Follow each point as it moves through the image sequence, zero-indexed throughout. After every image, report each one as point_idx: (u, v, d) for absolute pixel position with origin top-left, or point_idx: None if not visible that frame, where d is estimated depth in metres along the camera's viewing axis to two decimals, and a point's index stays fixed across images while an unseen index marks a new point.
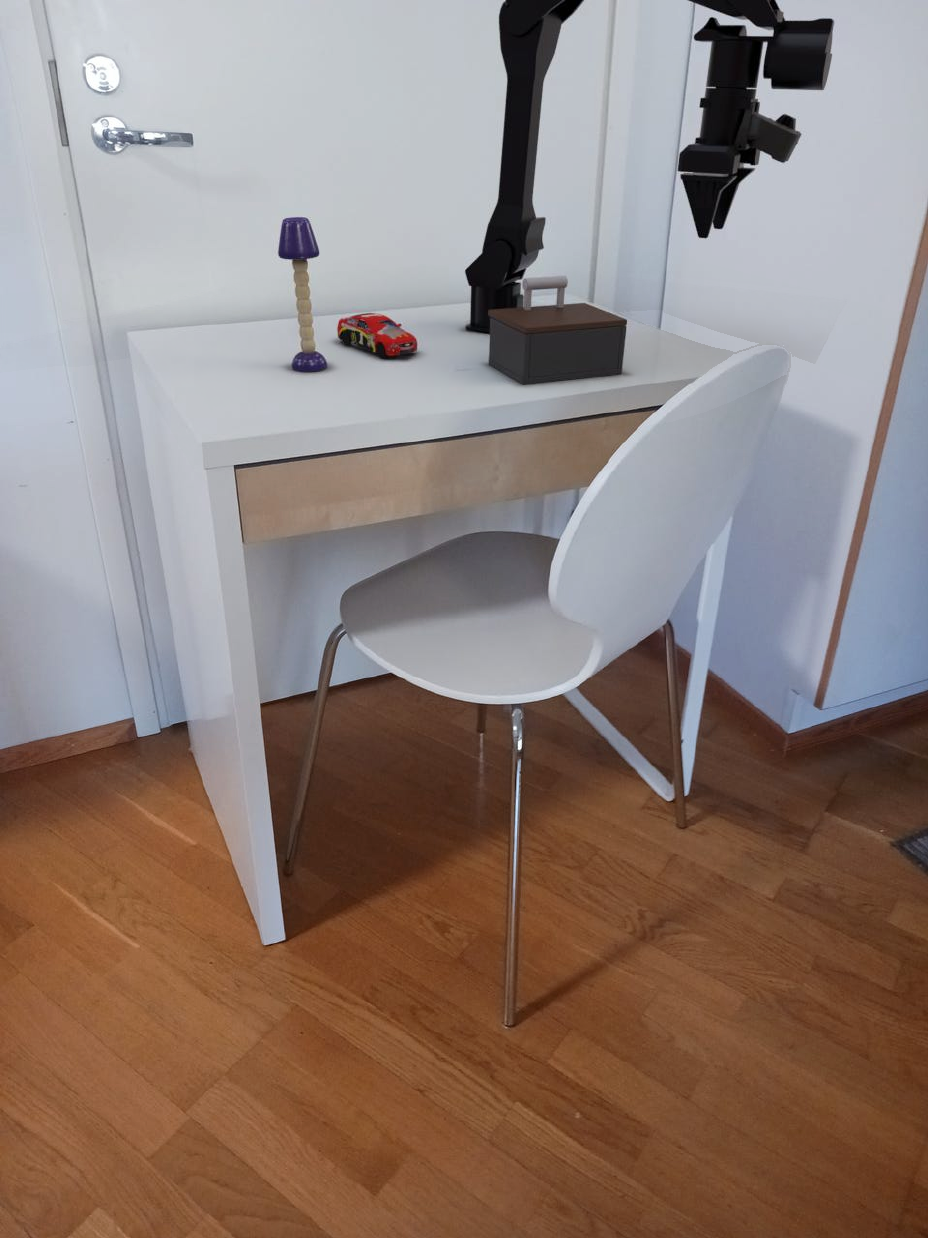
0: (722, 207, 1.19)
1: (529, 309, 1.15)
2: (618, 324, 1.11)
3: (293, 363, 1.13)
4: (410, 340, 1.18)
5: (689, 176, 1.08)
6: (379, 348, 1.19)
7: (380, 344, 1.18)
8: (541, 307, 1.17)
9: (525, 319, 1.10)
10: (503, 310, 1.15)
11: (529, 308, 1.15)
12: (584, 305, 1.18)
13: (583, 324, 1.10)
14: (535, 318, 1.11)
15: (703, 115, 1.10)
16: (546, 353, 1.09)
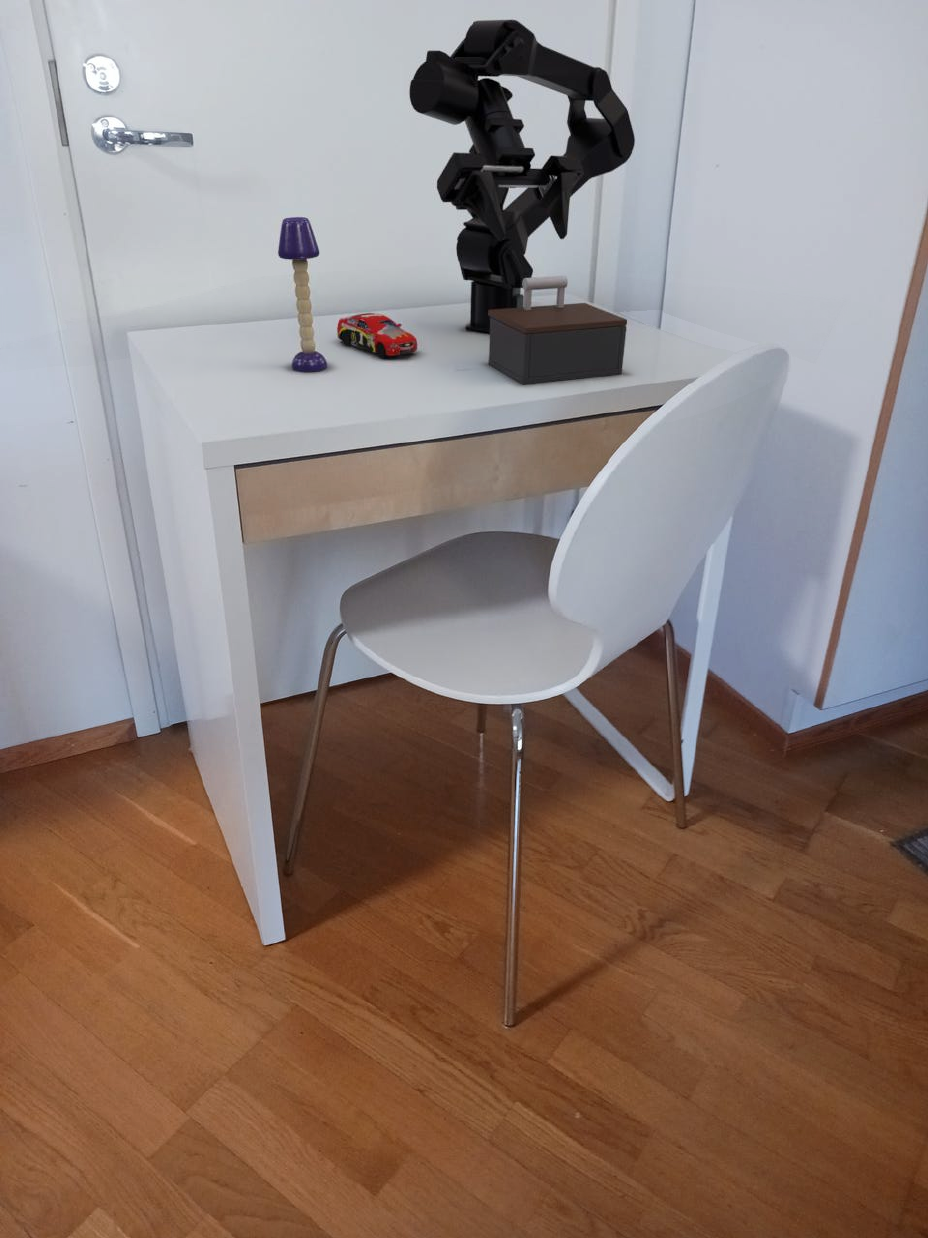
0: None
1: (529, 309, 1.15)
2: (618, 324, 1.11)
3: (293, 363, 1.13)
4: (410, 340, 1.18)
5: None
6: (379, 348, 1.19)
7: (380, 344, 1.18)
8: (541, 307, 1.17)
9: (525, 319, 1.10)
10: (503, 310, 1.15)
11: (529, 308, 1.15)
12: (584, 305, 1.18)
13: (583, 324, 1.10)
14: (535, 318, 1.11)
15: (518, 133, 1.17)
16: (546, 353, 1.09)
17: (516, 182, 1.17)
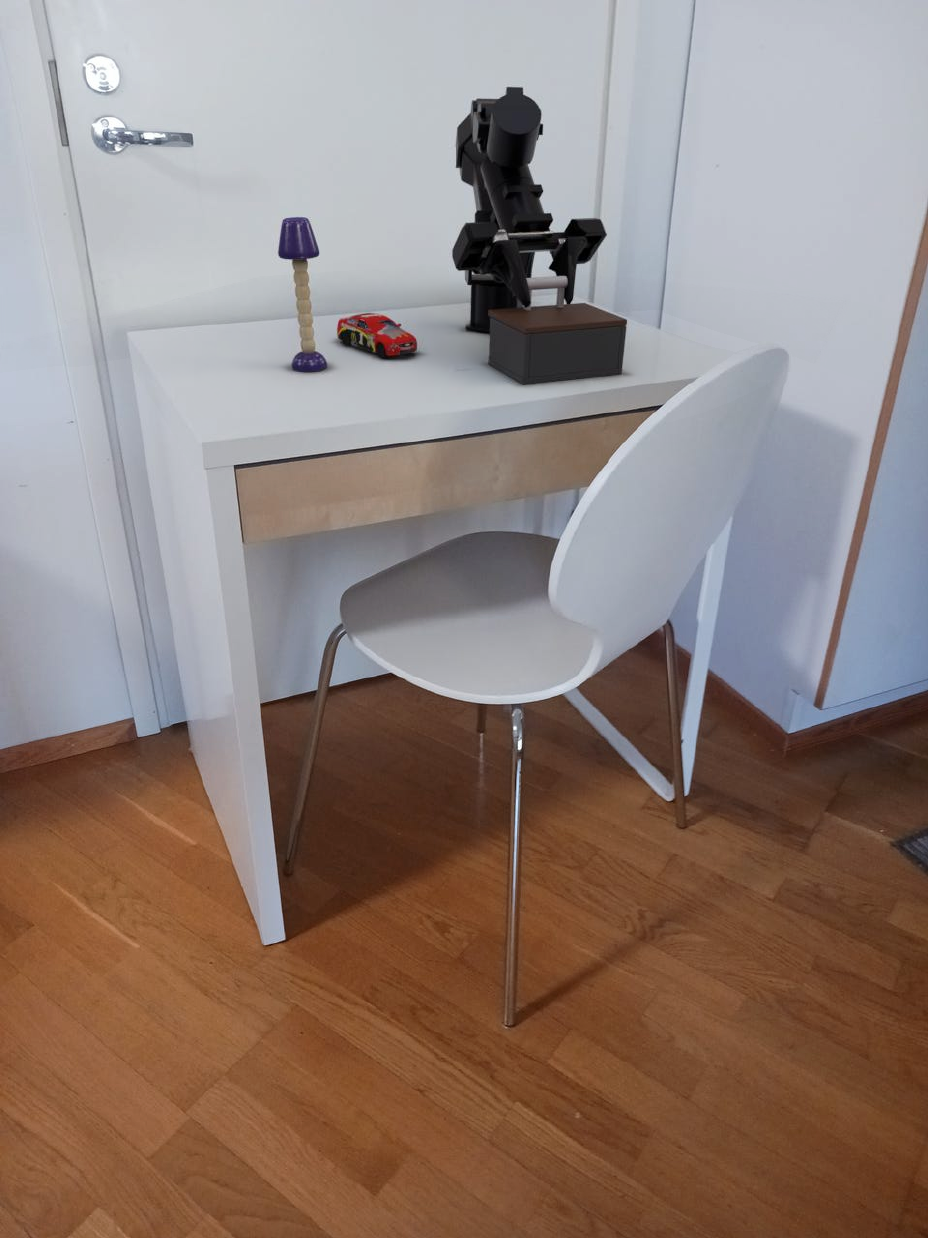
0: None
1: (529, 309, 1.15)
2: (618, 324, 1.11)
3: (293, 363, 1.13)
4: (410, 340, 1.18)
5: None
6: (379, 348, 1.19)
7: (380, 344, 1.18)
8: (541, 307, 1.17)
9: (525, 319, 1.10)
10: (503, 310, 1.15)
11: (529, 308, 1.15)
12: (584, 305, 1.18)
13: (583, 324, 1.10)
14: (535, 318, 1.11)
15: (537, 199, 1.15)
16: (546, 353, 1.09)
17: (522, 248, 1.15)
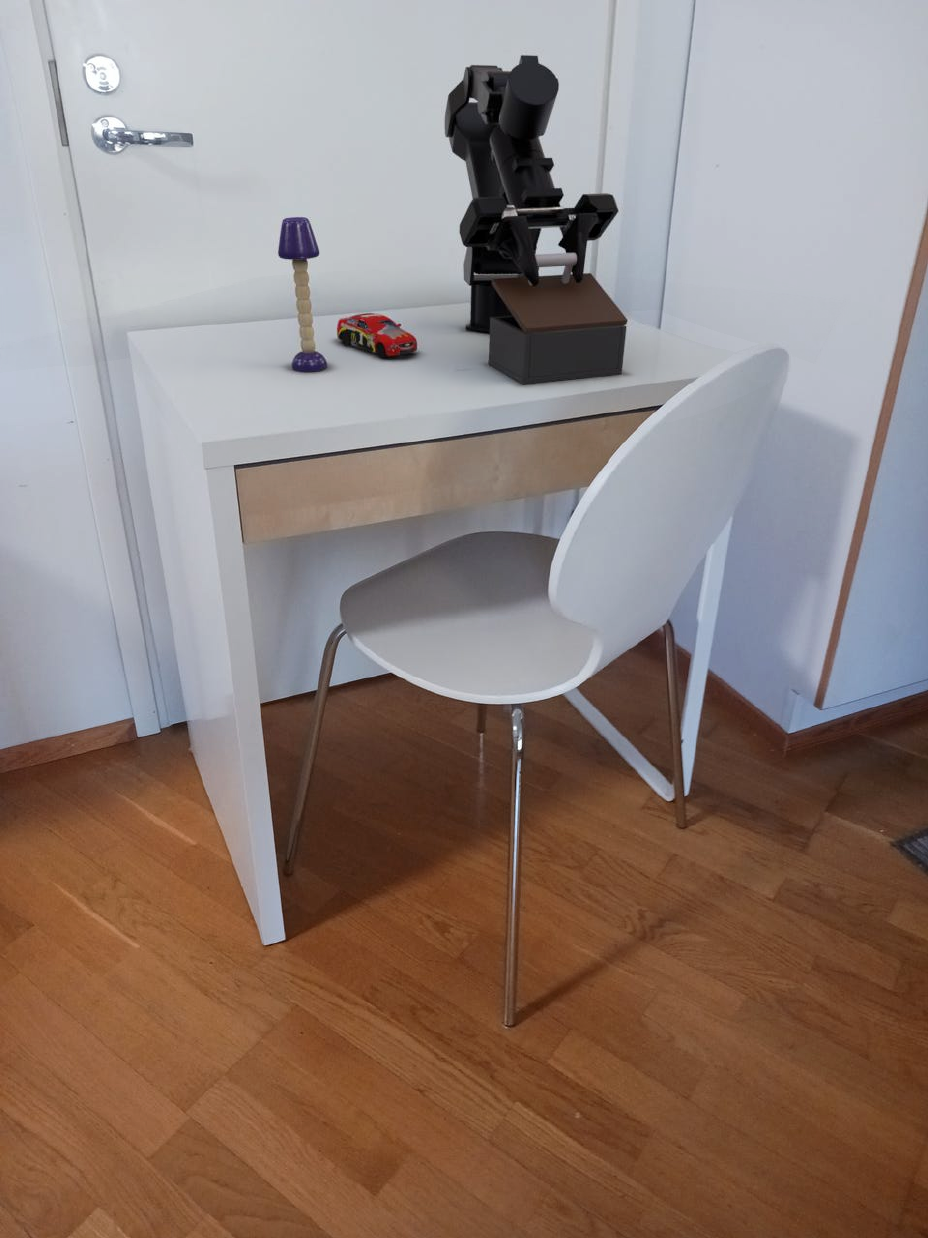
0: None
1: None
2: (618, 324, 1.11)
3: (293, 363, 1.13)
4: (410, 340, 1.18)
5: None
6: (379, 348, 1.19)
7: (380, 344, 1.18)
8: (546, 279, 1.14)
9: (527, 307, 1.09)
10: (507, 282, 1.12)
11: None
12: (589, 279, 1.16)
13: (583, 324, 1.09)
14: (537, 306, 1.10)
15: (547, 173, 1.12)
16: (546, 353, 1.09)
17: (531, 224, 1.12)
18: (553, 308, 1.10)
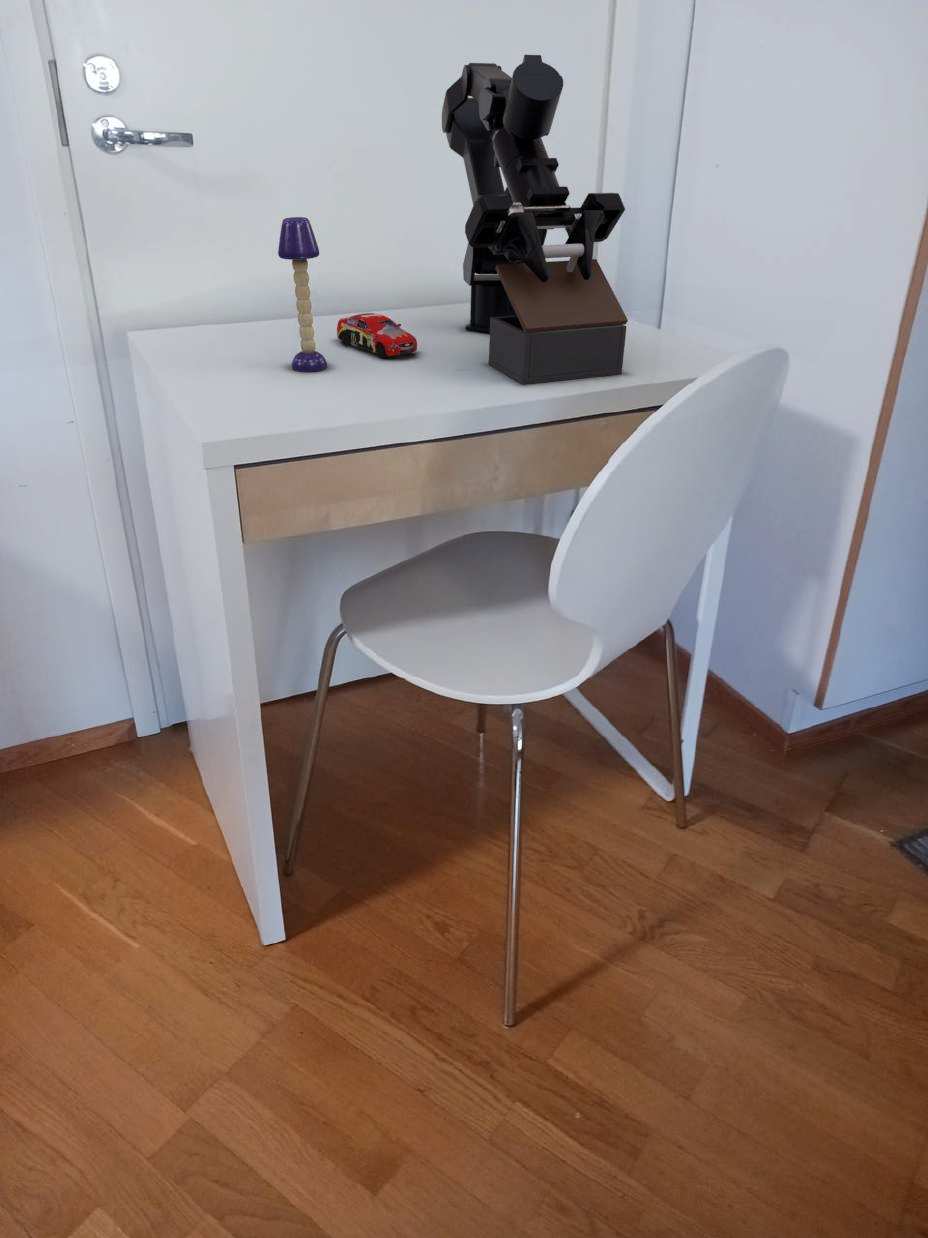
0: None
1: None
2: (618, 324, 1.11)
3: (293, 363, 1.13)
4: (410, 340, 1.18)
5: None
6: (379, 348, 1.19)
7: (380, 344, 1.18)
8: (550, 266, 1.13)
9: (529, 302, 1.09)
10: (511, 269, 1.11)
11: None
12: (594, 267, 1.14)
13: (583, 325, 1.09)
14: (539, 301, 1.09)
15: (552, 172, 1.11)
16: (546, 353, 1.09)
17: (536, 223, 1.11)
18: (555, 304, 1.10)
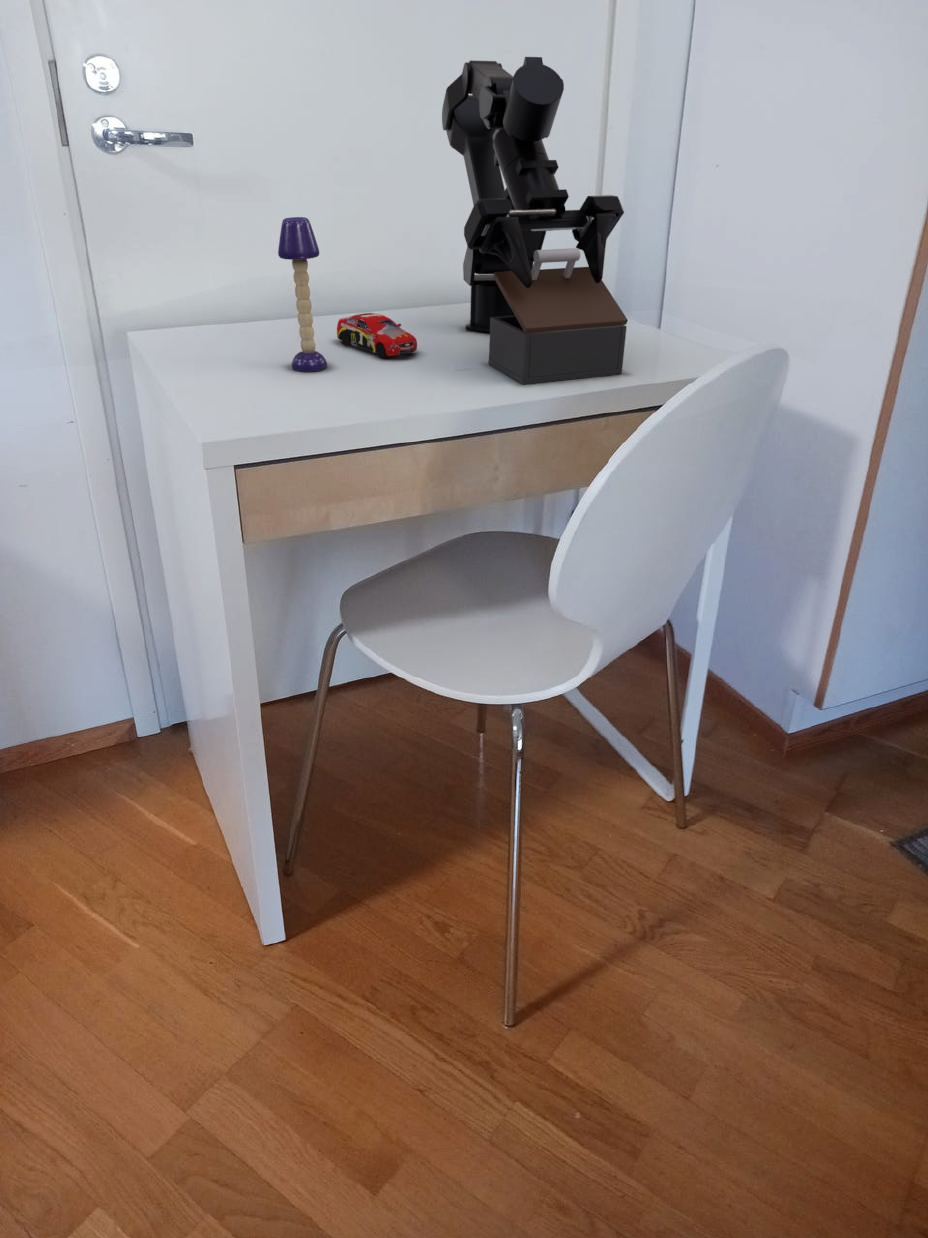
0: None
1: (535, 279, 1.12)
2: (618, 324, 1.11)
3: (293, 363, 1.13)
4: (410, 340, 1.18)
5: None
6: (379, 348, 1.19)
7: (380, 344, 1.18)
8: (548, 273, 1.13)
9: (528, 305, 1.09)
10: (509, 276, 1.12)
11: (535, 278, 1.12)
12: None
13: (583, 324, 1.09)
14: (538, 304, 1.10)
15: (552, 175, 1.11)
16: (546, 353, 1.09)
17: (549, 225, 1.12)
18: (554, 306, 1.10)
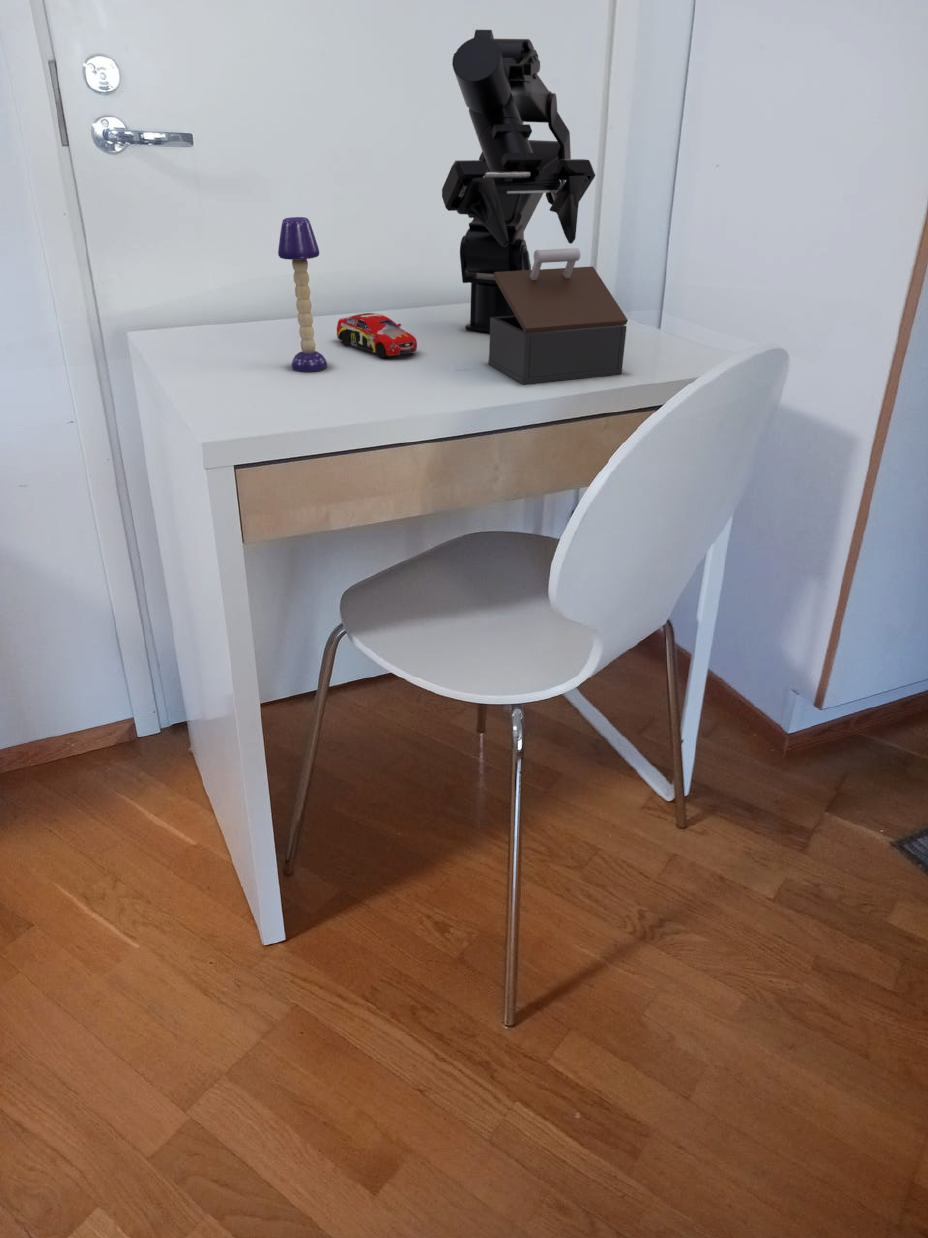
0: None
1: (535, 279, 1.12)
2: (618, 324, 1.11)
3: (293, 363, 1.13)
4: (410, 340, 1.18)
5: None
6: (379, 348, 1.19)
7: (380, 344, 1.18)
8: (548, 273, 1.13)
9: (528, 305, 1.09)
10: (509, 276, 1.12)
11: (535, 278, 1.12)
12: (591, 274, 1.15)
13: (583, 324, 1.09)
14: (538, 304, 1.10)
15: (526, 139, 1.16)
16: (546, 353, 1.09)
17: (524, 188, 1.16)
18: (554, 306, 1.10)
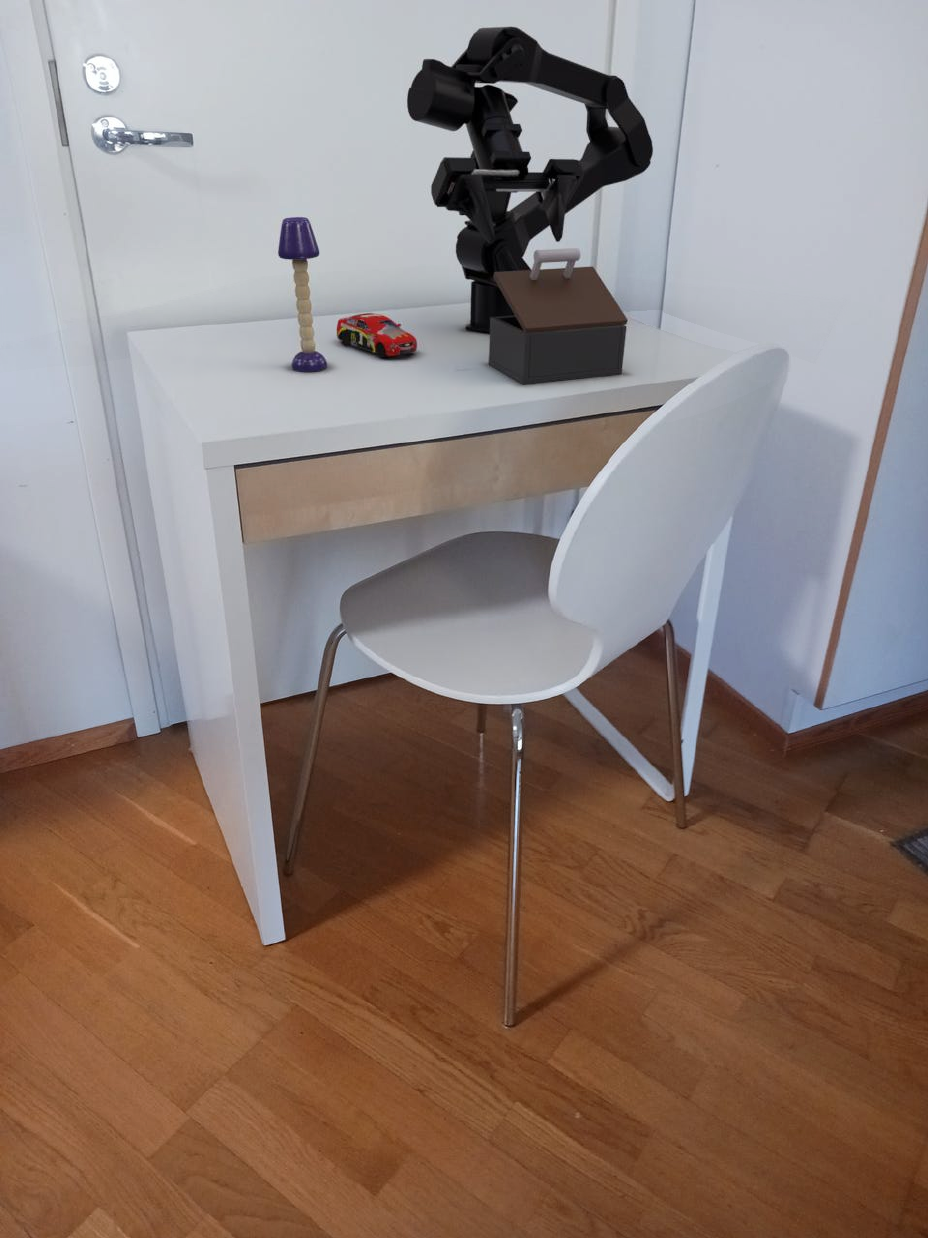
0: None
1: (535, 279, 1.12)
2: (618, 324, 1.11)
3: (293, 363, 1.13)
4: (410, 340, 1.18)
5: None
6: (379, 348, 1.19)
7: (380, 344, 1.18)
8: (548, 273, 1.13)
9: (528, 305, 1.09)
10: (509, 276, 1.12)
11: (535, 278, 1.12)
12: (591, 274, 1.15)
13: (583, 324, 1.09)
14: (538, 304, 1.10)
15: (516, 138, 1.17)
16: (546, 353, 1.09)
17: (513, 186, 1.18)
18: (554, 306, 1.10)
